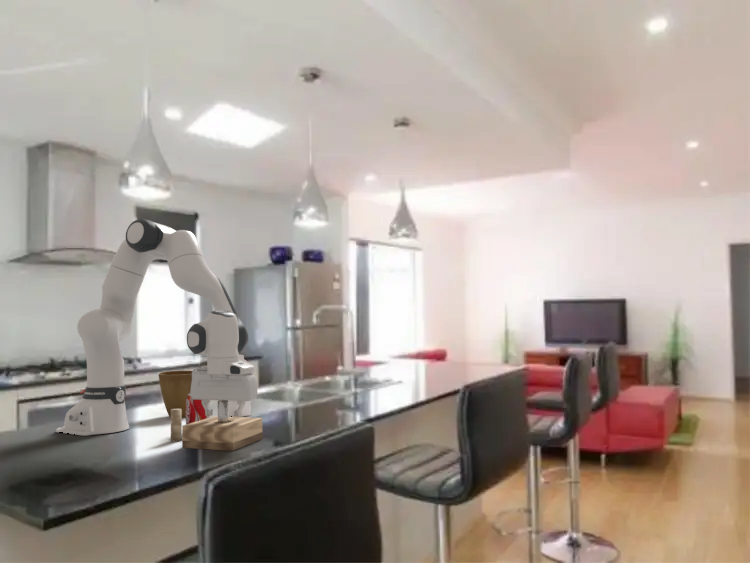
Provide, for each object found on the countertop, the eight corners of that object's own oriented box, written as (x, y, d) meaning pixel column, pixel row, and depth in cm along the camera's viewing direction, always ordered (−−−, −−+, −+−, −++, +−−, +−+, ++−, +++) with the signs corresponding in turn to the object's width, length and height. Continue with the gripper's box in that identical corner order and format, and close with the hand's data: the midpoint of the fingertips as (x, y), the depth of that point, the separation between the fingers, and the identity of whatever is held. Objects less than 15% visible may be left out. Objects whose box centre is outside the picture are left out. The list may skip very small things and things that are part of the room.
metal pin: (215, 436, 170) (215, 401, 171) (221, 434, 173) (221, 399, 173) (225, 437, 169) (224, 401, 170) (230, 435, 172) (230, 399, 172)
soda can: (202, 435, 183) (202, 395, 184) (181, 434, 185) (181, 395, 186) (213, 430, 190) (213, 392, 191) (192, 430, 192) (192, 392, 192)
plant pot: (149, 419, 214) (149, 374, 215) (173, 412, 228) (173, 370, 229) (187, 420, 210) (187, 374, 211) (208, 413, 225) (208, 370, 226)
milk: (237, 417, 214) (236, 355, 215) (227, 416, 218) (226, 354, 219) (251, 415, 219) (250, 354, 220) (241, 413, 223) (240, 353, 224)
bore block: (182, 447, 166) (182, 425, 166) (215, 436, 181) (215, 416, 181) (233, 450, 161) (232, 428, 161) (262, 438, 176) (262, 418, 176)
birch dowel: (168, 441, 175) (168, 410, 175) (175, 439, 178) (175, 408, 178) (177, 441, 174) (177, 410, 175) (183, 439, 177) (183, 408, 177)
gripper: (185, 367, 172) (185, 416, 172) (248, 368, 166) (248, 419, 165) (198, 365, 178) (198, 413, 178) (259, 366, 172) (260, 415, 171)
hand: (223, 416), depth 171 cm, fingers open, 8 cm apart
